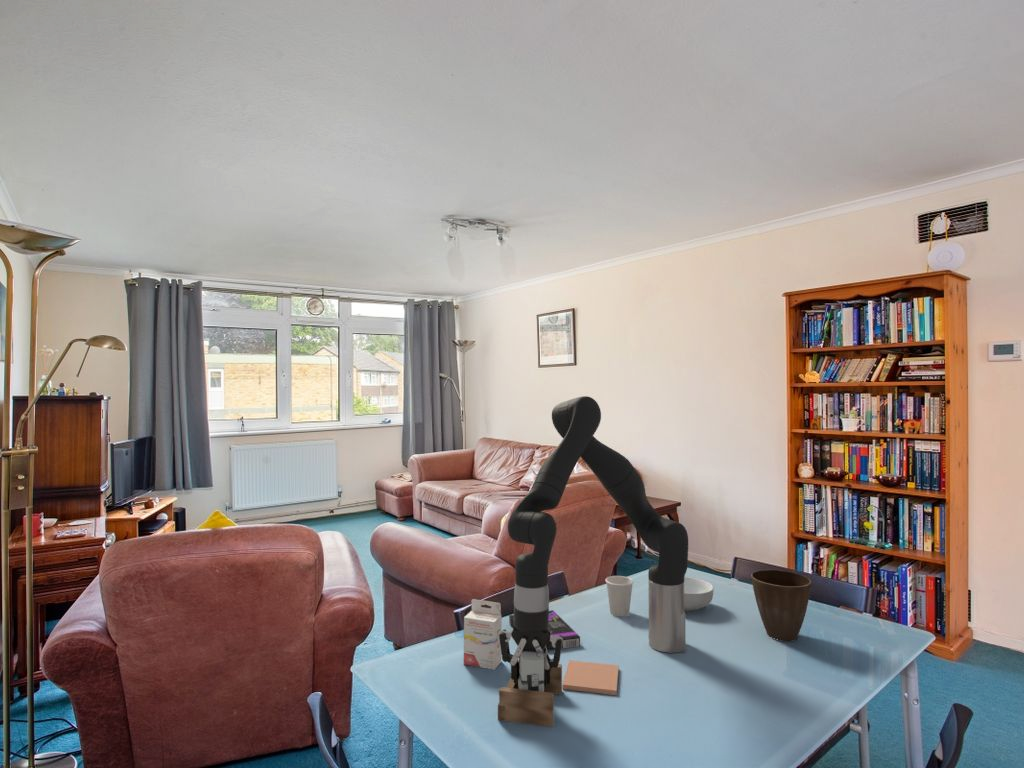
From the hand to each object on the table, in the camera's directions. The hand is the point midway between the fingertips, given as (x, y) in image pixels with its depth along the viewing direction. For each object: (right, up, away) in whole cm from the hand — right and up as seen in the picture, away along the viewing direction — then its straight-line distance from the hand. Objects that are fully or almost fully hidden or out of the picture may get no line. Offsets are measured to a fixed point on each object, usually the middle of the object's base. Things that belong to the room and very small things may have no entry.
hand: (530, 682), depth 122 cm
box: (+5, -6, +35) cm, 36 cm away
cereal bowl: (+50, -6, +56) cm, 76 cm away
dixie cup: (+29, -6, +51) cm, 59 cm away
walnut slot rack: (0, -5, 0) cm, 5 cm away
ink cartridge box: (-11, -5, +19) cm, 22 cm away
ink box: (0, -5, 0) cm, 5 cm away
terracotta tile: (+15, -5, +11) cm, 19 cm away
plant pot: (+70, -5, +34) cm, 78 cm away
